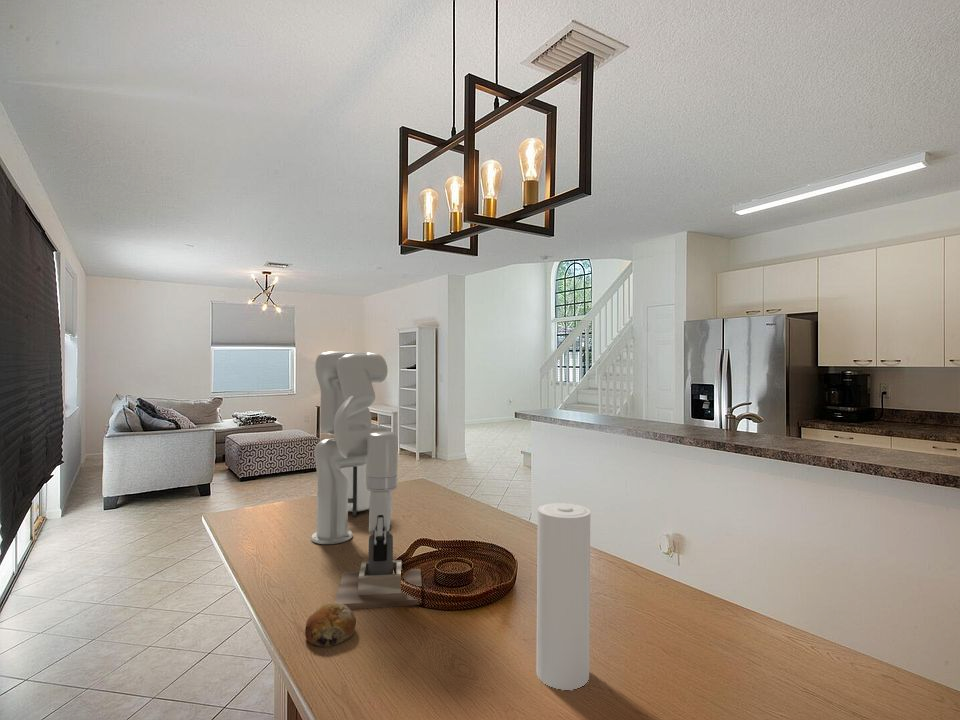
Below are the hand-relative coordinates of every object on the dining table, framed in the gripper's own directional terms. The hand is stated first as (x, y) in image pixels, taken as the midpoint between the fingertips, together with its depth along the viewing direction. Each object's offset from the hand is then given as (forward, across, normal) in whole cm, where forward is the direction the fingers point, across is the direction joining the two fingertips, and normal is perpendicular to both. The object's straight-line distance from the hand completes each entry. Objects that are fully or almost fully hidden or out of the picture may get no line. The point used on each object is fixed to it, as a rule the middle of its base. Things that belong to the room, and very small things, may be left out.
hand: (380, 554), depth 126 cm
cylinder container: (+8, +39, +34) cm, 53 cm away
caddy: (+9, 0, 0) cm, 9 cm away
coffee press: (+9, -68, -13) cm, 70 cm away
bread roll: (+9, +20, -9) cm, 24 cm away
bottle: (+6, 0, 0) cm, 6 cm away
